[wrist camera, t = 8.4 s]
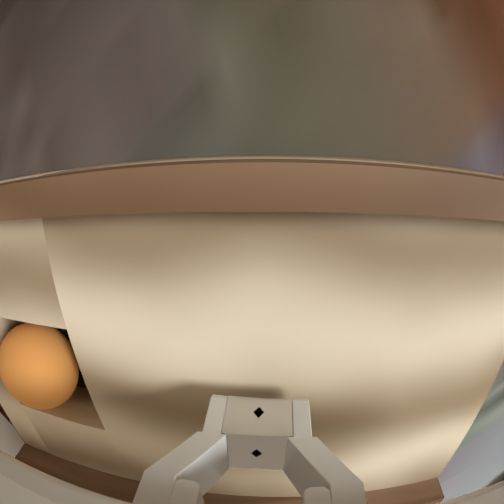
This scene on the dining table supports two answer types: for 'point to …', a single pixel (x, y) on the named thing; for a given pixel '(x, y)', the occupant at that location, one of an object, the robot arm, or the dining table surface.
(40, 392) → the ball
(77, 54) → the dining table surface
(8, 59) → the dining table surface
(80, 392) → the beige tray
